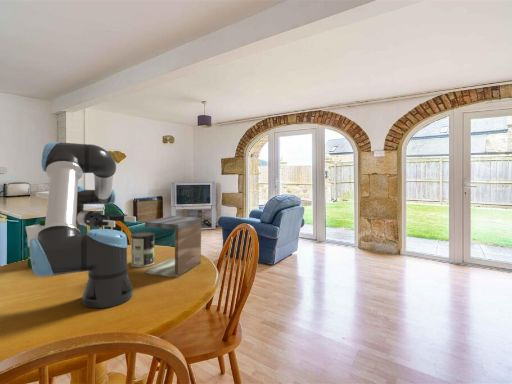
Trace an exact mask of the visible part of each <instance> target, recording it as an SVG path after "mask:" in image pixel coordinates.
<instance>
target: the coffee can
mask: <svg viewBox="0 0 512 384" xmlns="http://www.w3.org/2000/svg"><path fill="white" fill-rule="evenodd" d="M130 238H131V239H130V241H131V242H130V243H131V245H130V246H131V249H130V251H131V252H130V253H131V254H130V255H131V257H130V258H131V261H130V262H131V266H132V267H135V268H144V267H149V266H150V267H151V266H152V265H154V264H155V232H151V231H150V232H149V231H141V232H135V233H134V232H133V233H131V234H130Z"/></svg>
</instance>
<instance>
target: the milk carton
mask: <svg viewBox="0 0 512 384" xmlns="http://www.w3.org/2000/svg"><path fill="white" fill-rule="evenodd" d="M45 221H46V219H41V220H39V224H32V225H28V226H25V232H26V235H27V238H26V239H27V267H30V268H32V265H31V259H30V248H29V244H30V240H31V239H34V238H38V233H39V231H40V230H42V229H43V228H45Z"/></svg>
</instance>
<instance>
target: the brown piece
mask: <svg viewBox="0 0 512 384" xmlns="http://www.w3.org/2000/svg"><path fill="white" fill-rule="evenodd" d="M144 222H145V223H144V227H145V228H157V229H166V230H174V257H169V258H168V259H166V260H164V261H162V262H160V263H158V264H156V265H153V266H152V267H151V266H150V268H147V269H145V270H144V273H146V274H149V275H150V274H151V275H158V276H164V277H171V278H180V277H181V276H183V275H185V274H186V273H188V272H189V271H191V270H192V269H194V268H195V266H196V265H197V266H199V265H200V264H202V261H201V260H202V258H201V257H202V217H193V216H181V215H169V216H165V217H160V218H156V219H152V220H148V221H144ZM199 263H200V264H199ZM198 264H199V265H198ZM197 266H196V267H197ZM193 267H194V268H193Z"/></svg>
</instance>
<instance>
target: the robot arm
mask: <svg viewBox="0 0 512 384" xmlns="http://www.w3.org/2000/svg"><path fill="white" fill-rule="evenodd" d="M42 149H43V150H42V153H41V154H42V155H41V156H42V158H41V168H42V171H43V172H45V173H46V176H48V177H49V178H50V179H49V185H48V186H49V187H48V195H47V205H46V213H45V220H46V221H45V228H43V229H42V230H40V231H39V233H38V238H34V239H31V240H30V244H29V248H30V259H31V265H32V267H31V269H32V272H33V274H34V275H35V276H37V277H48V276H49V277H50V276H51V277H54V276H60V275H68V274H75V273H76V274H77V273H81V272H88V273H87V274H88V277H87V278H88V279H87V281H86V285H85V287H84V291H83V294H82V300H81V301H82V305H83V306H84V307H86V308H90V309H103V308H104V309H105V308H111V307H116V306H119V305H121V304H124V303H126V302H128V301H129V300H130V299H132V297H133V292H134V290H133V286H132V284H131V281H130V278H129V275H128V245H129V244H128V240H127V239H128V238H127V237H128V236H127V235H126V233H125V232H123V231H121V230H118V229H111V228H116V222H121V221H122V222H123V221H124V222H130V223H136V222H137V217H136V216H133V215H132V216H131V215H128V214H127V213H124V214H102V213H101V212H100V211H98V210H86V209H84V208H85V206H84V205H110V204H111V205H112V204H115V203H116V191H115V190H114V189H113V182H114V181H113V179H114V175H115V173H116V171H117V164H116V161H115V158H114V157H113V155H112V154H111V153H110V152H108V151H107V149H105V148H104V147H101V146H99V145H95V144H91V143H90V144H88V143H87V144H86V143H85V144H84V143H71V142H61V141H58V142H57V141H51V142H47V143H46V144H45V145H44V148H42ZM83 174H93V176H94V177H93V178H94V181H93V183H94V184H93V185H94V189H84V186H83V185H79V184H78V183H79V180H80V179H81V178H82V177H83ZM77 225H79V226H84V227H87V226H89V227H98V228H96V229H94V228H93V229H90V230H88V231H87V232H86V234H82V232H81V230H80V229H79V228H77ZM103 227H109V228H110V229H108V228H103Z"/></svg>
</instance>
